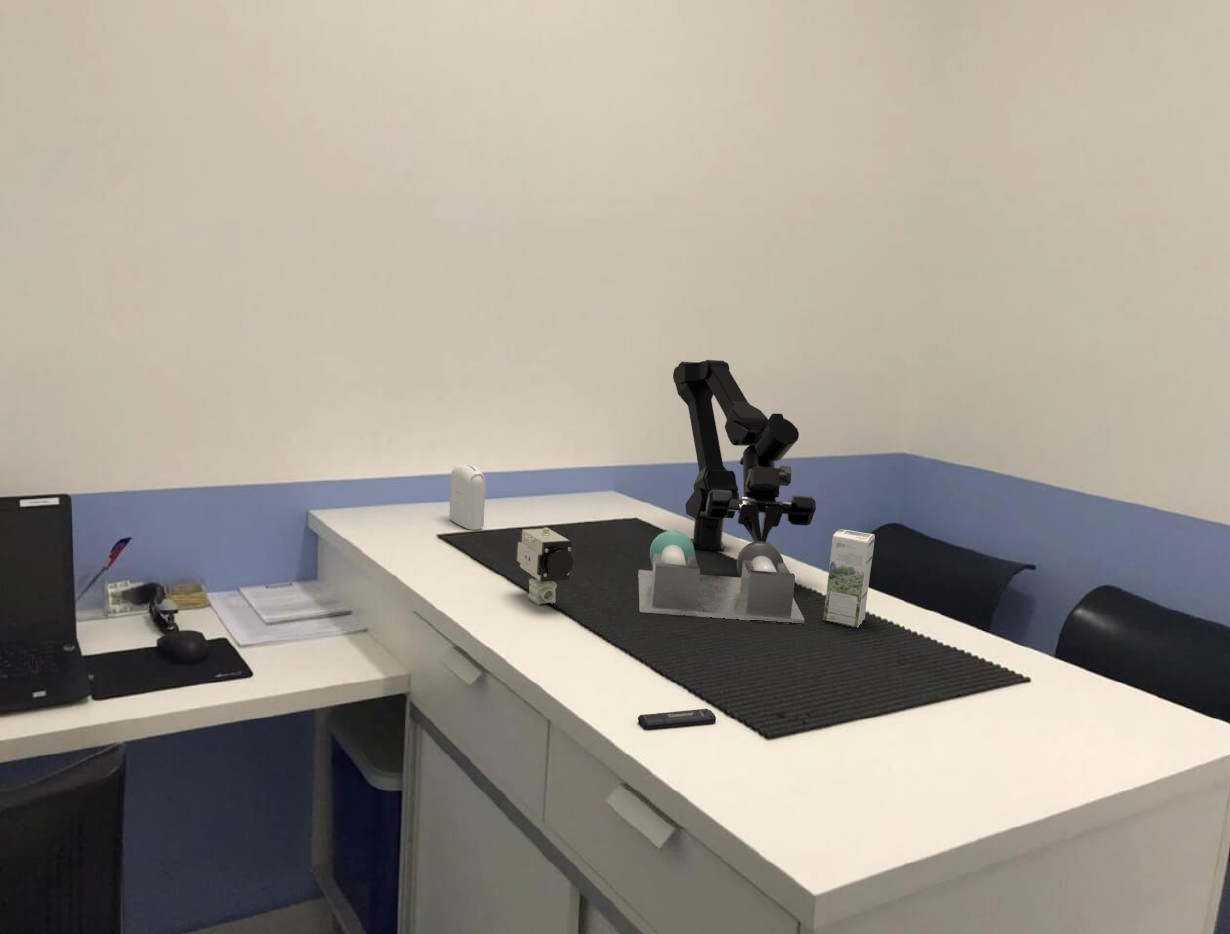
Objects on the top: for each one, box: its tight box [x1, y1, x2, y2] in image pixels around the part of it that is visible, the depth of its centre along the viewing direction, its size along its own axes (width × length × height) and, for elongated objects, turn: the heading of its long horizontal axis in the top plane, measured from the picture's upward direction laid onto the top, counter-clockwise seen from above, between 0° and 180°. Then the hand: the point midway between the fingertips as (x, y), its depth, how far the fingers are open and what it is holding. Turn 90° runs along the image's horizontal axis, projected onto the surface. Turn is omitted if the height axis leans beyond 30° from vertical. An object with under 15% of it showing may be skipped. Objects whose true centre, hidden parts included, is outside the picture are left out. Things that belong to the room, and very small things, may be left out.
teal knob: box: [649, 530, 696, 567], centre depth 175 cm, size 11×8×8 cm
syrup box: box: [822, 528, 876, 629], centre depth 165 cm, size 6×6×14 cm
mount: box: [637, 553, 806, 624], centre depth 173 cm, size 22×26×7 cm
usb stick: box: [637, 708, 717, 731], centre depth 123 cm, size 10×3×2 cm, turn 111°
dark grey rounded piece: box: [736, 541, 785, 578], centre depth 173 cm, size 11×8×8 cm
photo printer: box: [449, 463, 486, 531], centre depth 209 cm, size 10×4×12 cm, turn 32°
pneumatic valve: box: [515, 527, 574, 606], centre depth 163 cm, size 6×12×12 cm, turn 29°
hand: (761, 548), depth 178 cm, fingers closed, pressing on dark grey rounded piece
